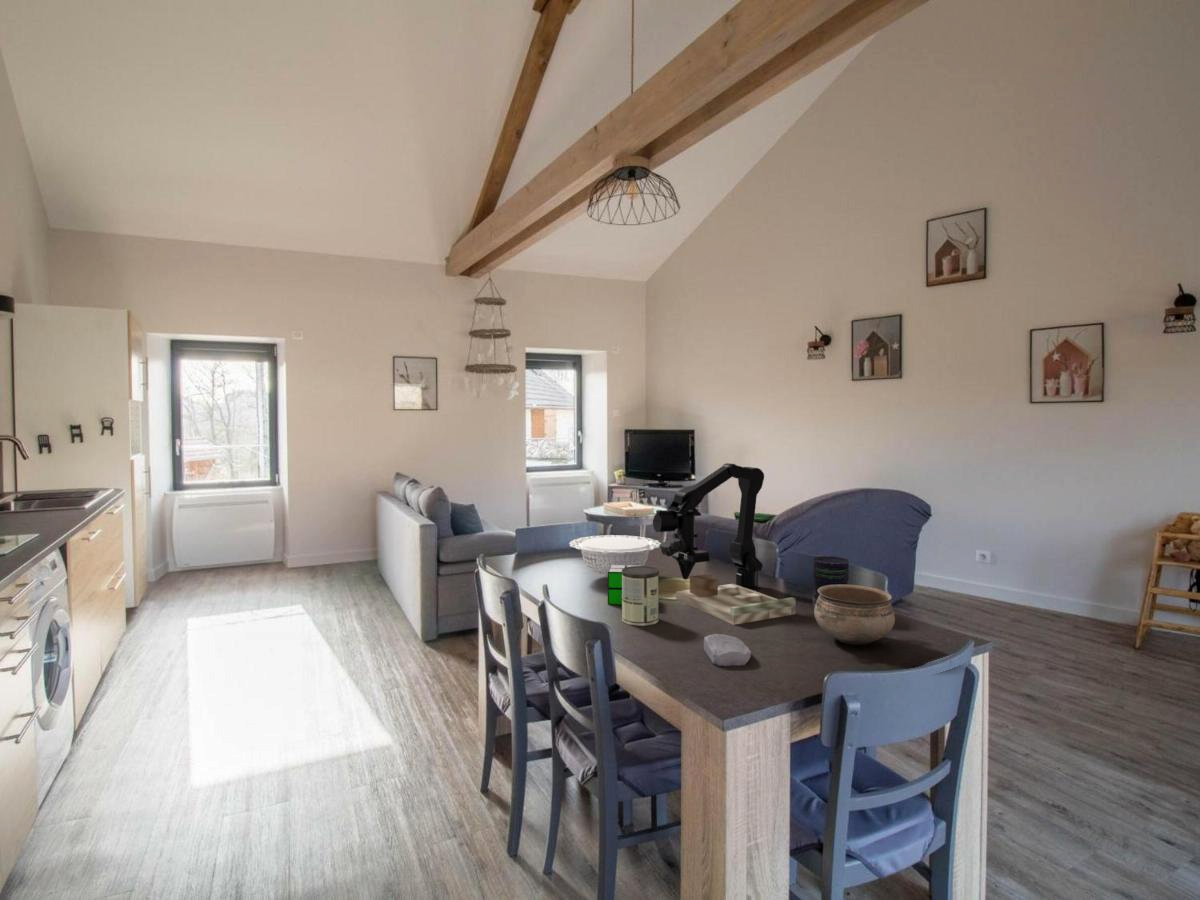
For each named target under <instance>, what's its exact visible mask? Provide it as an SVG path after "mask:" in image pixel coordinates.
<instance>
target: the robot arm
mask: <svg viewBox="0 0 1200 900" xmlns="http://www.w3.org/2000/svg"><path fill="white" fill-rule="evenodd" d="M731 478H733V479H737V480H738V481H737V483H738V487H739V489H740V494H741V497H740V505H739V507H740V508H739V516H738V524H737V535H736V537H735V539H734V541H732V540H731V541H730V542H729V550H728V554H729V557H730V559H731V561H732V562H733V566H734V567H735V568H736V570H737V571H736V575H735V576H736V577H735V578H736V579H735V580H736V582H735V584H736V585H739V586H741V587H744V588H747V589H750V590H756V589H762V586H761V585H759V572H761V571H762V570H763V569H762V568H763V563H762V562H761V561H760V560H759V559H758V557H757V552H756V551H757V550H756V546H755V542H754V540H753V539H754V538H753V535H754V524H755V515H756V508H757V507H756V506H757V498H758V497H757V496H758V495H759V493H760V491H761V489H762V488H763V484H764V481H765V473H764V472H763V470H762V469H760V468H759V467H751V466H740V465H737V464H735V463H727V462H726V463H724V464H722V466H721V467H719V468H717V469H716V470H715V471H713V472H712V473H710V474H709V475H707V476H706V477H704V478H703V479H702V480H700V481H698V482H697V483H694V485H689V486H686V487H683V488H681V489H679V490H677V491H676V492H675V493H674V497H673V499H672V501H671V502H670V504H669V506H668V507H667V509H665V510H664V509H663V510H661V509H657V510H656V511H655V514H654V516H653V520H652V526H653V530H654V531H655V532H656V533H667V532H674V533H673V534H672V538H670V539H668V540H665V541H664V542H662V543H661V544H660V546H659V548H660V550H661V554H662V555H663V556H667V557H672V559H674V560H675V561H676V562H677V564H678V566H679V569H680V573H681V576H682V579H683V580H688V578H690V574H691V572H692V571H693V568H694V567H695V565H696V563H697V564H698V563H704V562H705V563H706V562H710V561H711V554H710V552H708V551H705V550H702V549H699V550H698V546H696V545H695V539H696V538H698V533H696V532H695V531H696V530H695V528H696V524H695V523H696V522H695V521H696V517H700V516H702V513H701V512H700V511H698V509H697V507H698V506H699V505H700V504H701V503H703V500H704V498H705V497H706V496H707V495H709V493H711V492H712V491H714V490H715V489H717V488H718V487H720V486H721V485H722V484H725V482H727V481H729V480H730V479H731ZM675 531H676V532H675Z"/></svg>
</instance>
